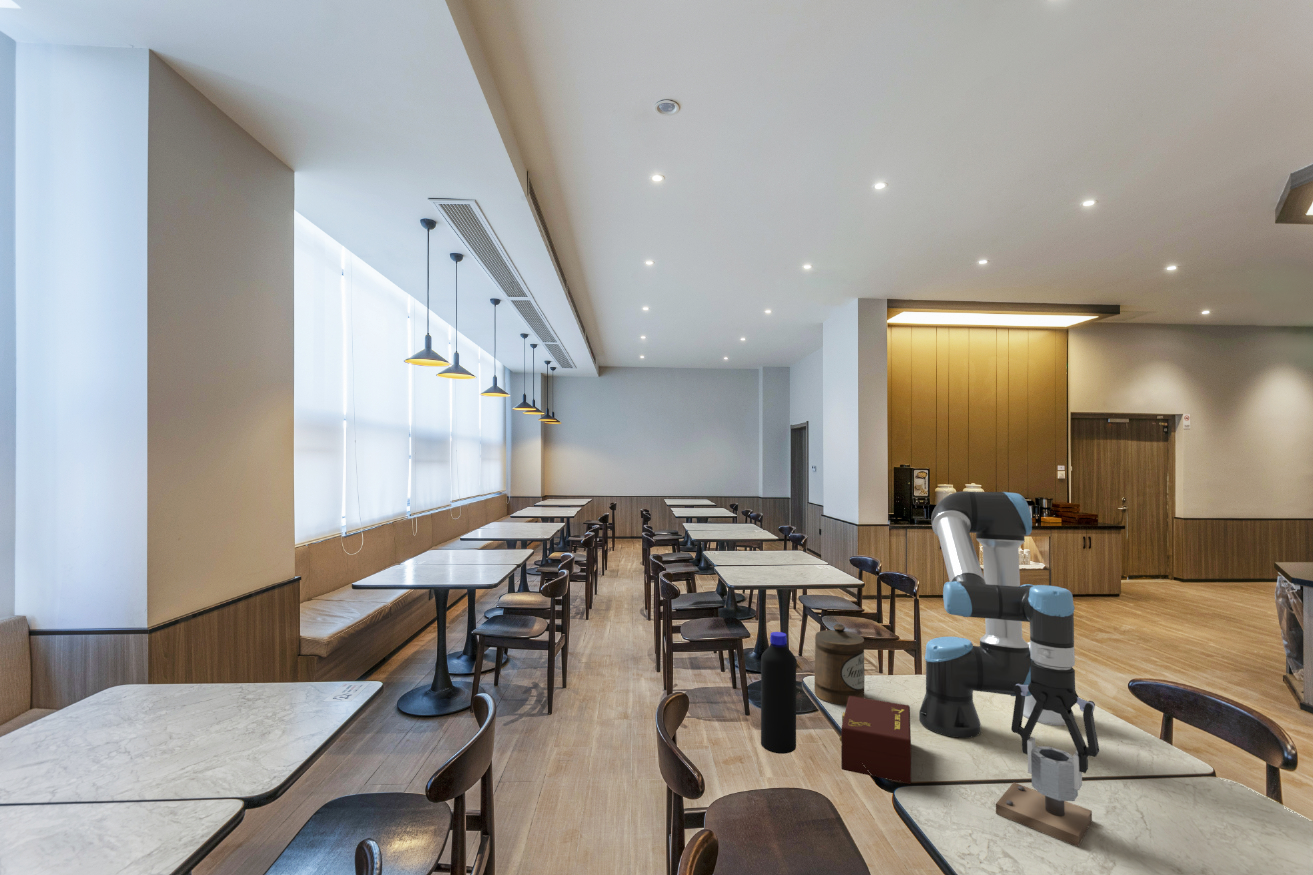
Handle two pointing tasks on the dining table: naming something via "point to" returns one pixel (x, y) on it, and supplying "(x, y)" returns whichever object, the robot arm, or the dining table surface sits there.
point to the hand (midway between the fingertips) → (1054, 778)
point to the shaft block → (1045, 813)
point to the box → (876, 739)
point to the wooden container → (839, 665)
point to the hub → (1053, 773)
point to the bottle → (778, 696)
